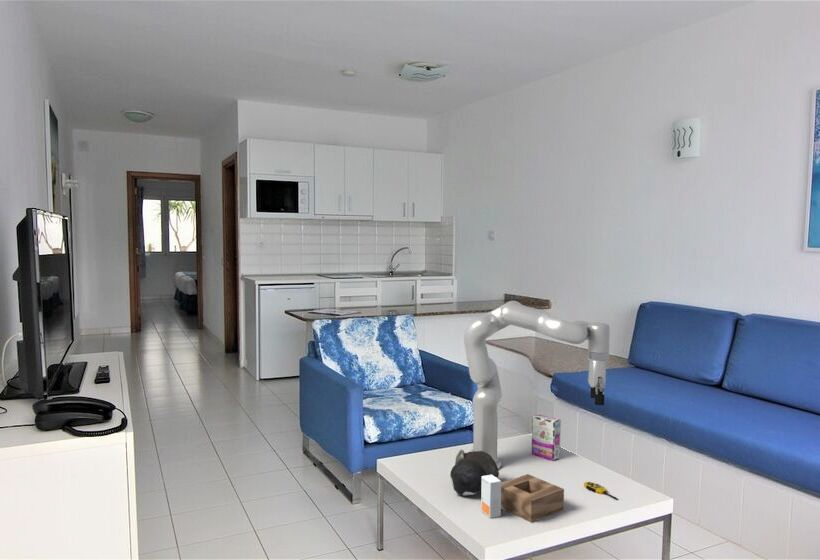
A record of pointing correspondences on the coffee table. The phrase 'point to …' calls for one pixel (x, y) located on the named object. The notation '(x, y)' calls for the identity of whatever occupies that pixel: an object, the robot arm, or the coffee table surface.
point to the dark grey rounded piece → (471, 471)
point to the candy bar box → (546, 437)
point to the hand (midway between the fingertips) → (596, 401)
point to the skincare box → (491, 496)
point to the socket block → (531, 497)
